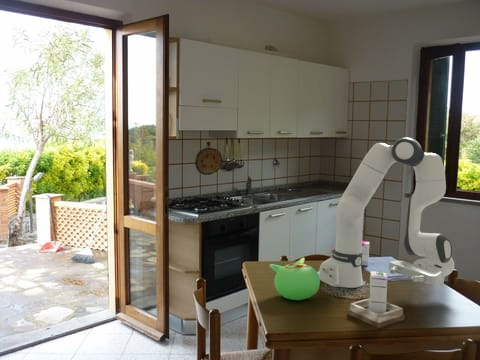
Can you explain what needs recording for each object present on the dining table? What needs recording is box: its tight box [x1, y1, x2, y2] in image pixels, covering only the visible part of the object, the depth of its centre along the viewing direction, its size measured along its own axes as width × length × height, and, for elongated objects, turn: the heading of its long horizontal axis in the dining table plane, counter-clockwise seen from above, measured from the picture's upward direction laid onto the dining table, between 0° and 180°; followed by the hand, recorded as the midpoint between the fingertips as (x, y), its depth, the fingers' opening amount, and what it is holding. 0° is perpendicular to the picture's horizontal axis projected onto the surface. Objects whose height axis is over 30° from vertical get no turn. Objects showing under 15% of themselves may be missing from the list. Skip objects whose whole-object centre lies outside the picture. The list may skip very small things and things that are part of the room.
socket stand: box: [347, 297, 406, 329], centre depth 166 cm, size 14×14×4 cm
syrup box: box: [368, 271, 388, 314], centre depth 165 cm, size 6×6×14 cm
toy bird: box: [268, 257, 321, 301], centre depth 181 cm, size 18×17×15 cm
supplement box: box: [361, 240, 370, 268], centre depth 230 cm, size 6×6×12 cm
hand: (402, 275), depth 172 cm, fingers open, 8 cm apart
